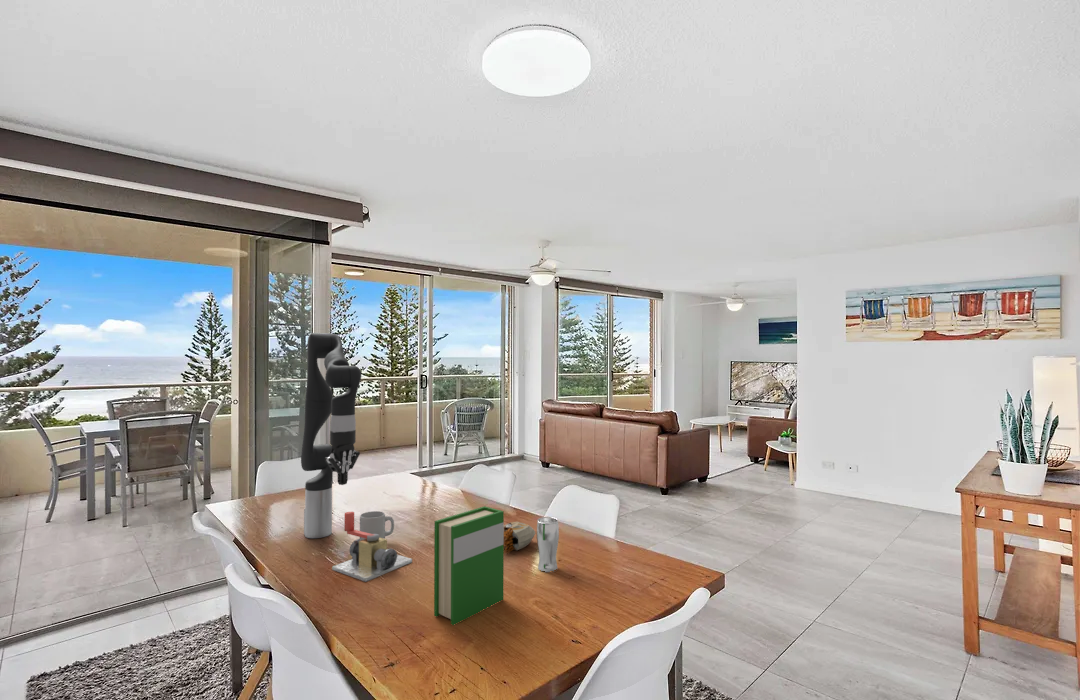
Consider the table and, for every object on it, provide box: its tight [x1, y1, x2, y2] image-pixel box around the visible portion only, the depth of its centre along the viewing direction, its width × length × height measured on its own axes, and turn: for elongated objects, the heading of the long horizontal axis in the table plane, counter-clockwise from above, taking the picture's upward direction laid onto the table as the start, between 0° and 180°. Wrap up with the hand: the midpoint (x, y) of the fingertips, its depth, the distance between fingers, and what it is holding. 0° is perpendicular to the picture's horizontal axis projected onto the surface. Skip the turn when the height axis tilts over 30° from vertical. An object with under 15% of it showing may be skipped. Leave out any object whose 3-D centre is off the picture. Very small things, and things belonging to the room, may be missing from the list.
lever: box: [343, 511, 379, 541], centre depth 168 cm, size 14×4×7 cm, turn 60°
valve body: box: [331, 537, 413, 583], centre depth 165 cm, size 16×18×8 cm
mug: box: [359, 510, 395, 540], centre depth 184 cm, size 12×8×11 cm
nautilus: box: [504, 521, 536, 555], centre depth 181 cm, size 8×22×15 cm
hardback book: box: [433, 505, 505, 626], centre depth 138 cm, size 18×7×24 cm, turn 140°
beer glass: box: [536, 516, 560, 573], centre depth 163 cm, size 7×7×15 cm
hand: (342, 484), depth 165 cm, fingers closed
